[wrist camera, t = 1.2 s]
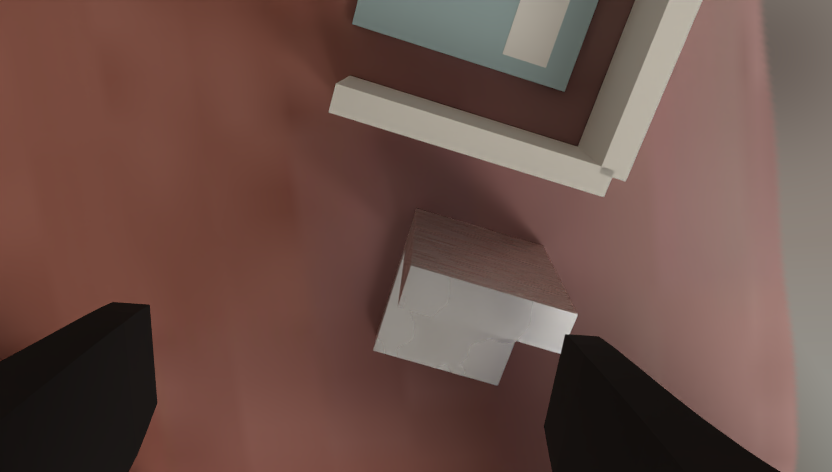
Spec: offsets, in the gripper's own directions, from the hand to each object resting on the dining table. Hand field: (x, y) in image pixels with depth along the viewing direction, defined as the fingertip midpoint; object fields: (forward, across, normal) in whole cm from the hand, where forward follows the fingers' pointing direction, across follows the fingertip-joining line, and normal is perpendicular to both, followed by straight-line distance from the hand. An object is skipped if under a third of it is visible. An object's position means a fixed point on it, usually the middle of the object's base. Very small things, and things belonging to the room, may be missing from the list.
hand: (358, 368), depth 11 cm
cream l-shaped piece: (+11, -4, -6) cm, 13 cm away
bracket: (+10, -3, +4) cm, 11 cm away
